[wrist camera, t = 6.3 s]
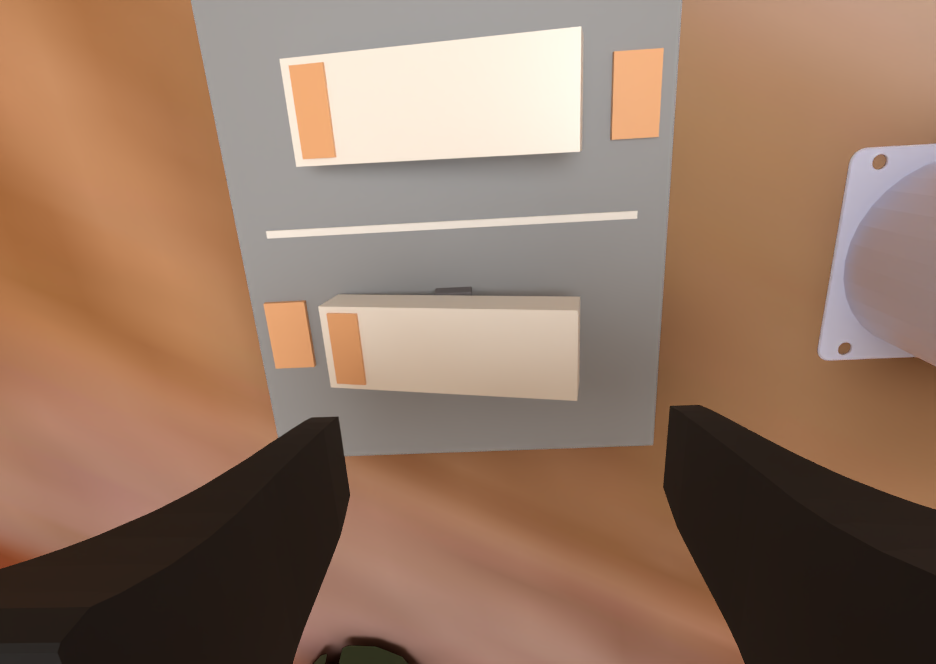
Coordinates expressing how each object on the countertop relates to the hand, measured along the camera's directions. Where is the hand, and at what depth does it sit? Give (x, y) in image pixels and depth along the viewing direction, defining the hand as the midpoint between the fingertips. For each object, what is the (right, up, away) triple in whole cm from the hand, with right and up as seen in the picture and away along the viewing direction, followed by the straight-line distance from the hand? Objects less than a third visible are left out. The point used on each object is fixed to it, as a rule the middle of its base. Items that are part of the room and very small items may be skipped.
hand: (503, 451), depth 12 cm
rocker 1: (-2, +9, +3) cm, 10 cm away
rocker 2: (-1, +2, +6) cm, 6 cm away
